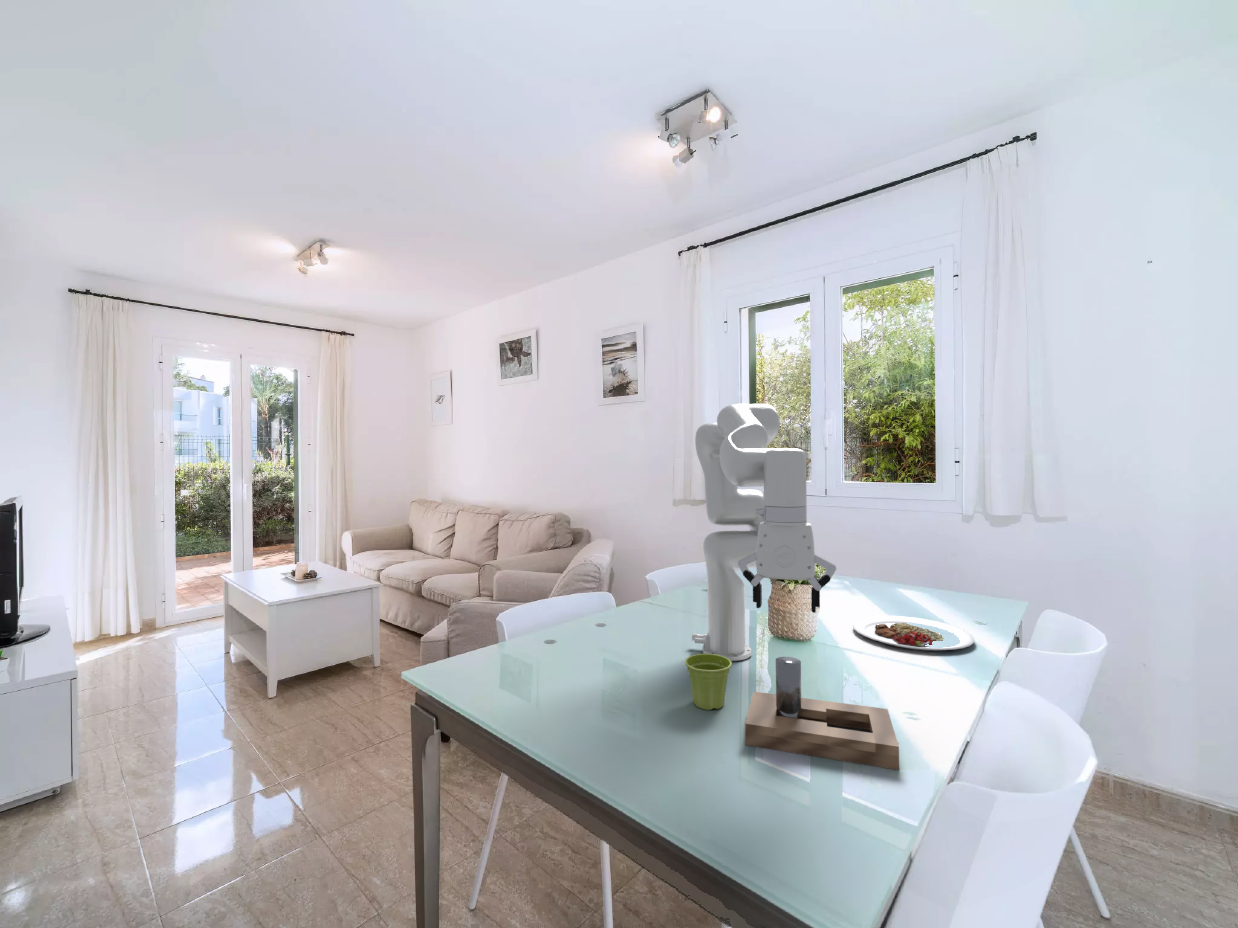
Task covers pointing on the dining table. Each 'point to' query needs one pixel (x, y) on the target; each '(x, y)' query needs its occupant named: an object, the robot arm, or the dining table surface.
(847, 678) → the dining table surface
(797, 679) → the peg
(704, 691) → the plant pot
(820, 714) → the keyhole plate
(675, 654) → the dining table surface
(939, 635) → the plated food
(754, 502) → the robot arm
